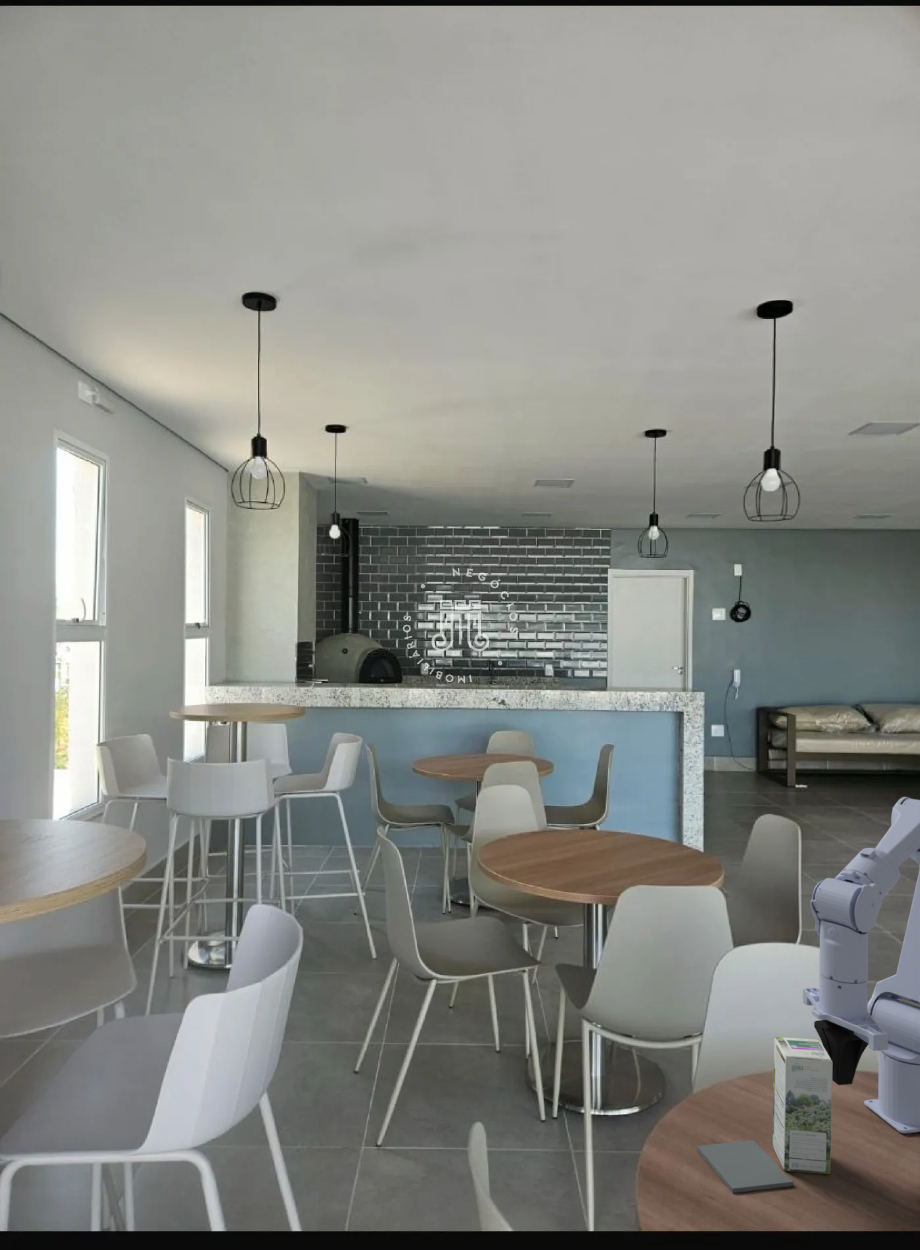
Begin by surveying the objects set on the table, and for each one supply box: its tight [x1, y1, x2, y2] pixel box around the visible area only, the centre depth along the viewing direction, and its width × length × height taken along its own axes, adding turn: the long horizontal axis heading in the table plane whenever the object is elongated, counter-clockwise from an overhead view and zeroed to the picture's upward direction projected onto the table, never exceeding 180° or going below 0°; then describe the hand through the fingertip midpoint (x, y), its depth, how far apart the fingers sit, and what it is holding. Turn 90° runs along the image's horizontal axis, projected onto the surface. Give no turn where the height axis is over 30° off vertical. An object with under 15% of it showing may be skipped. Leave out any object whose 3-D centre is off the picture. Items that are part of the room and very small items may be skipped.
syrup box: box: [771, 1036, 833, 1175], centre depth 111 cm, size 6×6×14 cm
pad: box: [696, 1139, 794, 1194], centre depth 109 cm, size 8×9×1 cm
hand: (842, 1081), depth 112 cm, fingers closed
